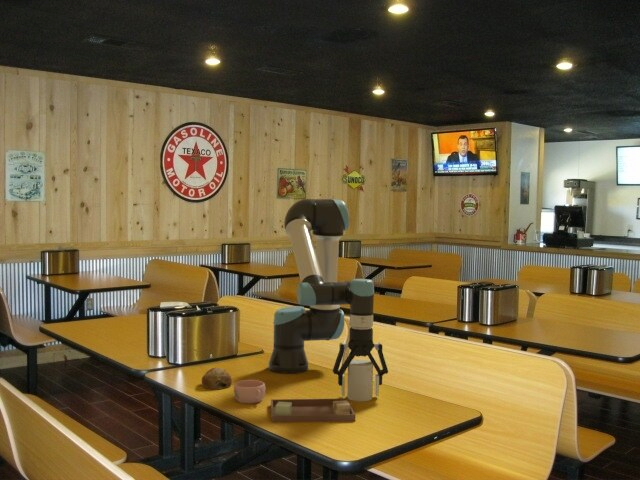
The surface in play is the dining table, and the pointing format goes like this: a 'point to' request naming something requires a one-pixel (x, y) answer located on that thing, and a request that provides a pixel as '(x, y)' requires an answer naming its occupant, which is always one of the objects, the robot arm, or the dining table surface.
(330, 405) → the tray
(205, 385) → the bread roll
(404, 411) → the dining table surface
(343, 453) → the dining table surface
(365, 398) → the cup
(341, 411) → the maple block
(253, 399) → the mug
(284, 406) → the sage block
